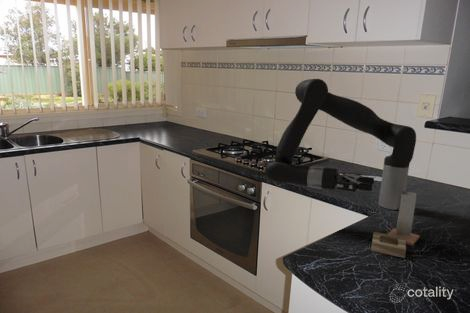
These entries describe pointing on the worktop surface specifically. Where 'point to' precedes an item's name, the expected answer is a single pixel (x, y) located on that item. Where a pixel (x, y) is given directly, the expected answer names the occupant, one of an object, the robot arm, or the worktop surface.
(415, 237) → the tile
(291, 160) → the robot arm
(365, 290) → the worktop surface
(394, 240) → the socket block
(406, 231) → the grey tapered block
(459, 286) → the worktop surface
